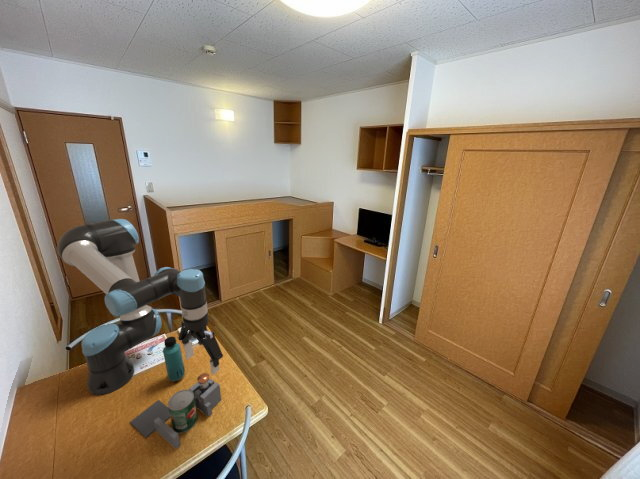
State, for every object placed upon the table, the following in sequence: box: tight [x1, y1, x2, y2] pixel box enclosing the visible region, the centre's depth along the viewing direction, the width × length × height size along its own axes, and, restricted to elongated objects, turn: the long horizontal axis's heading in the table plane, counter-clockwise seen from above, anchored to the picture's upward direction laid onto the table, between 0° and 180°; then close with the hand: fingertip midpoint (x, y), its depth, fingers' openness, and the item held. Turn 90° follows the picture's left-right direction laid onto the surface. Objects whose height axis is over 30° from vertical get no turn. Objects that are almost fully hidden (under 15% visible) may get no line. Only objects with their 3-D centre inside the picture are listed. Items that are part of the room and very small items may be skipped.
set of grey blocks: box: [154, 378, 222, 450], centre depth 93 cm, size 11×20×8 cm, turn 151°
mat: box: [129, 399, 171, 439], centre depth 92 cm, size 10×10×1 cm
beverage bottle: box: [162, 336, 186, 382], centre depth 106 cm, size 6×7×20 cm
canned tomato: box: [167, 389, 198, 434], centre depth 90 cm, size 8×8×11 cm
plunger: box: [196, 372, 210, 394], centre depth 96 cm, size 4×4×7 cm
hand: (202, 364), depth 93 cm, fingers open, 13 cm apart
